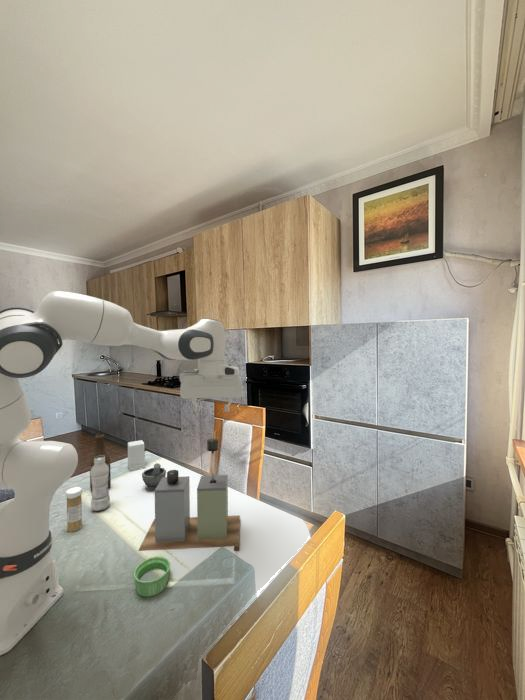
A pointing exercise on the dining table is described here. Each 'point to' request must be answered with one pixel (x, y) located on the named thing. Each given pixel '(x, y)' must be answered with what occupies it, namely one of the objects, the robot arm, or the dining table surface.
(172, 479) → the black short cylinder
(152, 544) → the walnut board
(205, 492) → the olive slotted block
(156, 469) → the mortar and pestle
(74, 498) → the sprinkles bottle
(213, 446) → the black plunger knob
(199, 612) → the dining table surface
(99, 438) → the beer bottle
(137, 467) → the supplement box
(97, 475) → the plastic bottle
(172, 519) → the grey block
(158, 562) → the ramekin
